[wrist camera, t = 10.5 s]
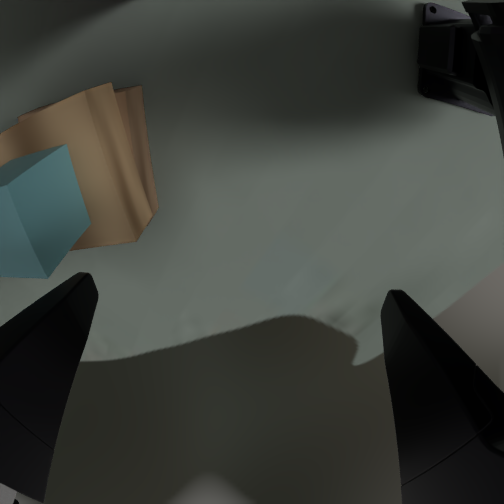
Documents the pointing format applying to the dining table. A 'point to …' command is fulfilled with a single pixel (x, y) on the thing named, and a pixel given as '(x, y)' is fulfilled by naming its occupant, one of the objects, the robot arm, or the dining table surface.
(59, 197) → the teal cube
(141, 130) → the walnut slab
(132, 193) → the oak slab
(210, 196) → the dining table surface
